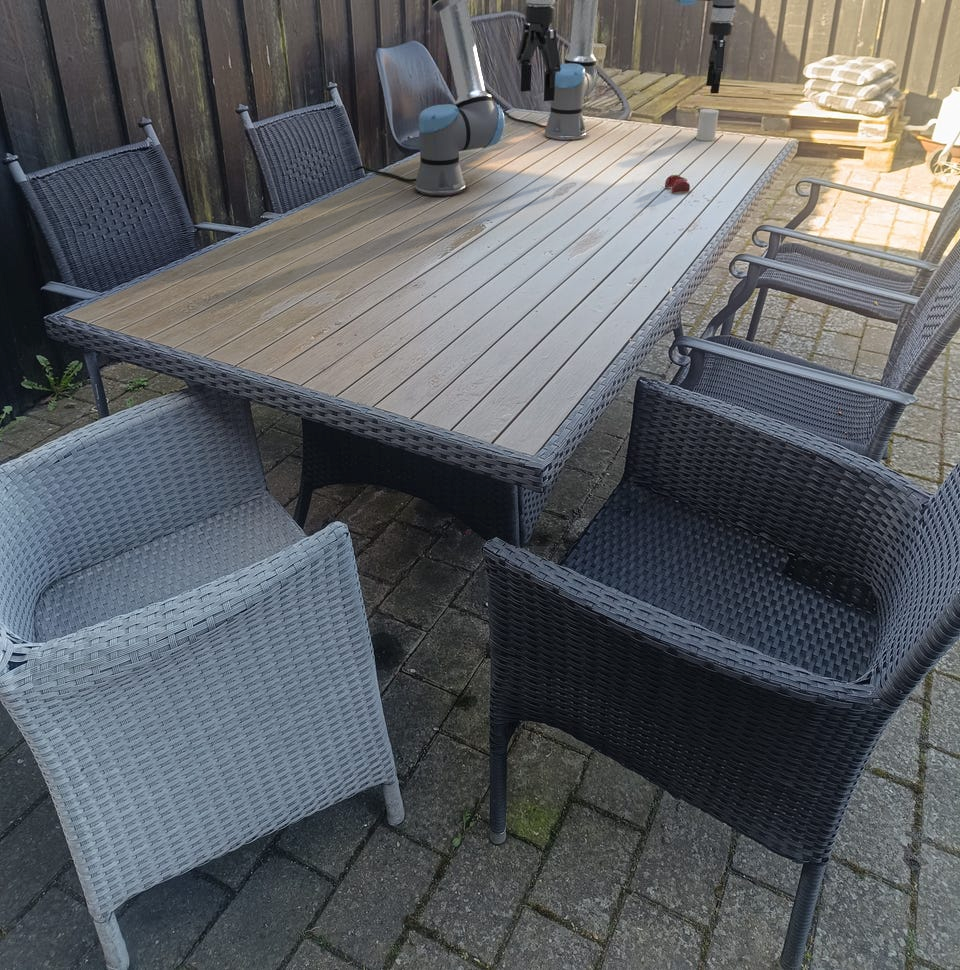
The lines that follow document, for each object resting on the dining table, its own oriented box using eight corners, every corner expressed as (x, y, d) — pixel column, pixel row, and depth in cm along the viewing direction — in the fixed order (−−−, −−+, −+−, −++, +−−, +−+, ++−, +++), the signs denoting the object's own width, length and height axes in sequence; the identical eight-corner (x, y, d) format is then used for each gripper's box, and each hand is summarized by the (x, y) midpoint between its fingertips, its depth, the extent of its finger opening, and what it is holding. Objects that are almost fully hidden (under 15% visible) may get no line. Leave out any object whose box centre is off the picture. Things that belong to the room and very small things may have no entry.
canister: (705, 141, 306) (709, 113, 301) (692, 137, 311) (696, 110, 305) (718, 139, 309) (722, 111, 304) (705, 135, 314) (709, 107, 308)
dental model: (681, 171, 259) (692, 178, 253) (679, 184, 262) (690, 192, 256) (664, 173, 258) (675, 180, 252) (662, 186, 261) (673, 194, 255)
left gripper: (577, 9, 205) (572, 103, 218) (531, -1, 224) (528, 86, 236) (550, 11, 203) (546, 106, 215) (505, 0, 221) (504, 88, 234)
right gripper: (737, 26, 276) (727, 96, 289) (728, 17, 297) (718, 82, 309) (714, 26, 277) (705, 96, 289) (706, 16, 297) (697, 82, 310)
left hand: (537, 95), depth 226 cm, fingers open, 13 cm apart
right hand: (712, 89), depth 299 cm, fingers open, 13 cm apart
